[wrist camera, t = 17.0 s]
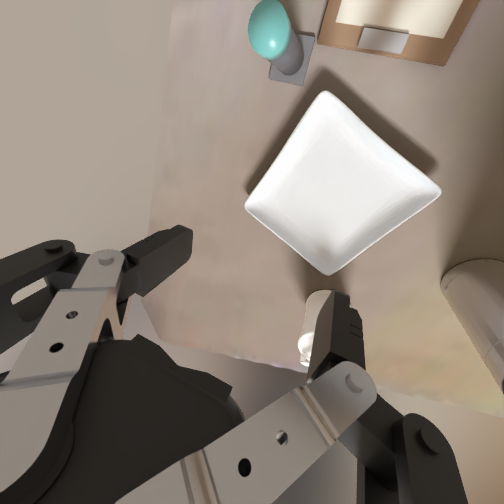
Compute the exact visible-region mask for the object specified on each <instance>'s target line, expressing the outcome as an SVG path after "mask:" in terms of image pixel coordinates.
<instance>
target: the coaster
mask: <svg viewBox="0 0 504 504" xmlns="http://www.w3.org/2000/svg"><path fill="white" fill-rule="evenodd" d="M296 36H297V38H298V40H299V41H300V43H301V45H302V47H303V50H304V60H303V64H302V66H301V68H300V69H299V71H298V72H297V73H295V74H294V75H291V76H287V75H284V74H283V73H282V72H280V71H279V70H278V69H277V68H276V67H275V66H274V65H273V64H272V65H271V70H270V76H269V79H272V80H276V81H281V82H285V83H290V84H295V85H299V86H303V82H304V79H305V75H306V71H307V67H308V64H309V60H310V56H311V53H312V49H313V45H314V41H315V37H312V36H306V35H300V34H296Z"/></svg>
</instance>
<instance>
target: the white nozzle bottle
mask: <svg viewBox="0 0 504 504" xmlns="http://www.w3.org/2000/svg"><path fill="white" fill-rule="evenodd" d="M330 293H331V290H320V291H316V292H314V293H312V294H311V295H310V296H309V297H308V299H307V301H306V313H305V318H304V323H303V327H302V332H301V336H300V337H299V339H298V348H299V350H300V352H301V354H300V359H299V361H300V362H301V363H302V364H303V365H305V366H309V363H310V362H307V361H305V360H306V359H308V360H309V361H310V357H311V350H312V344H313V338H314V332H315V326H316V321H317V317H318V314H319V312H320V310H321V308H322V306H323V305H324V303H325V301H326V300H327V298H328V296H329V295H330ZM350 307H351V305H350Z"/></svg>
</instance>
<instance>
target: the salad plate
mask: <svg viewBox="0 0 504 504" xmlns="http://www.w3.org/2000/svg"><path fill="white" fill-rule="evenodd" d="M441 193H442V190H441V188H440V187H439V186H438V185H437V184H436V183H435V182H434V181H433V180H432V179H430V178H429V177H428V176H427V175H426V174H424V173H423V172H422V171H421V170H419V169H418V168H417V167H415V166H414V165H413V164H412V163H410V162H409V161H408V160H407V159H405V158H404V157H403V156H402V155H400V154H399V153H398V152H397V151H396V150H394V149H393V148H392V147H391V146H390V145H388V144H387V143H386V142H385V141H384V140H382V139H381V138H380V137H379V136H378V135H377V134H376V133H375V132H373V131H372V130H371V129H370V128H369V127H368V126H367V125H366V124H365V123H364V122H363V121H362V120H361V119H360V118H359V117H358V116H357V115H356V114H355V113H354V112H353V111H352V110H351V109H350V108H349V107H348V106H347V105H346V104H344V103H343V102H342V101H341V100H340V99H339V98H337V97H336V96H335V95H334V94H333V93H331V92H329V91H326V90H324V91H322V92H321V93H319V94H318V96H317V97H316V98H315V99H314V101H313V102H312V103H311V105H310V106H309V108H308V109H307V111H306V112H305V114H304V115H303V117H302V118H301V120H300V121H299V123H298V124H297V126H296V128H295V129H294V131H293V132H292V134H291V136H290V137H289V139H288V140H287V142H286V143H285V145H284V147H283V148H282V150H281V151H280V153H279V154H278V156H277V157H276V159H275V160H274V162H273V163H272V165H271V166H270V168H269V169H268V170H267V172H266V173H265V175H264V176H263V178H262V179H261V180H260V182H259V183H258V185H257V186H256V187H255V189H254V190H253V191H252V193H251V194H250V196H249V197H248V199H247V200H246V202H245V209H246V210H247V211H248V212H249V213H250V214H251V215H252V216H253V217H254V218H256V219H257V220H258V221H259V222H261V223H262V224H263V225H264V226H266V227H267V228H268V229H269V230H271V231H272V232H273V233H274V234H275V235H277V236H278V237H279V238H280V239H282V240H283V241H284V242H285V243H287V244H288V245H289V246H290V247H291V248H293V249H294V250H295V251H296V252H297V253H298V254H300V255H301V256H302V257H303V258H304V259H305V260H306V261H308V262H309V263H310V264H311V265H312V266H313V267H315V268H316V269H317V270H318V271H319V272H321V273H322V274H324V275H327V276H330V275H332V274H334V273H335V272H337V271H338V270H340V269H341V268H342V267H343V266H345V265H346V264H348V263H349V262H350V261H351V260H353V259H354V258H355V257H357V256H358V255H359V254H361V253H362V252H363V251H365V250H366V249H367V248H369V247H370V246H371V245H373V244H374V243H375V242H377V241H378V240H379V239H381V238H382V237H384V236H385V235H386V234H388V233H389V232H391V231H392V230H393V229H395V228H396V227H398V226H399V225H401V224H402V223H403V222H405V221H406V220H408V219H409V218H411V217H412V216H413V215H415V214H416V213H418V212H419V211H420V210H422V209H423V208H425V207H426V206H427V205H429V204H430V203H432V202H433V201H434V200H436V199H437V198H438V197H439V196H440V195H441Z"/></svg>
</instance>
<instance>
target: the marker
mask: <svg viewBox="0 0 504 504" xmlns="http://www.w3.org/2000/svg"><path fill="white" fill-rule="evenodd" d="M248 36H249V40H250V43H251V46H252V47H253V49H254V50H255V51H256V52H257V53H258V54H259V55H261V56H262V57H263V58H264V59H267V60H268V61H269V62H270V63H271V64H273V65H274V66H275V67H276V68H277V69H278V70H279V71H280V72H282V73H283V74H284V75H287V76H291V75H294V74H295V73H297V72H298V71H299V69H300V68H301V66H302V64H303V60H304V50H303V47H302V45H301V43H300V41H299V40H298V38H297V36H296V34H295V32H294V30H293V28H292V26H291V23H290V20H289V17H288V15H287V13H286V11H285V9H284V7H283V6H282V4H281V3H280V2H279V1H278V0H262V1H261V2H260V3H258V5H257V6H256V7H255V8H254V10H253V12H252V14H251V17H250V20H249V25H248Z"/></svg>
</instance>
